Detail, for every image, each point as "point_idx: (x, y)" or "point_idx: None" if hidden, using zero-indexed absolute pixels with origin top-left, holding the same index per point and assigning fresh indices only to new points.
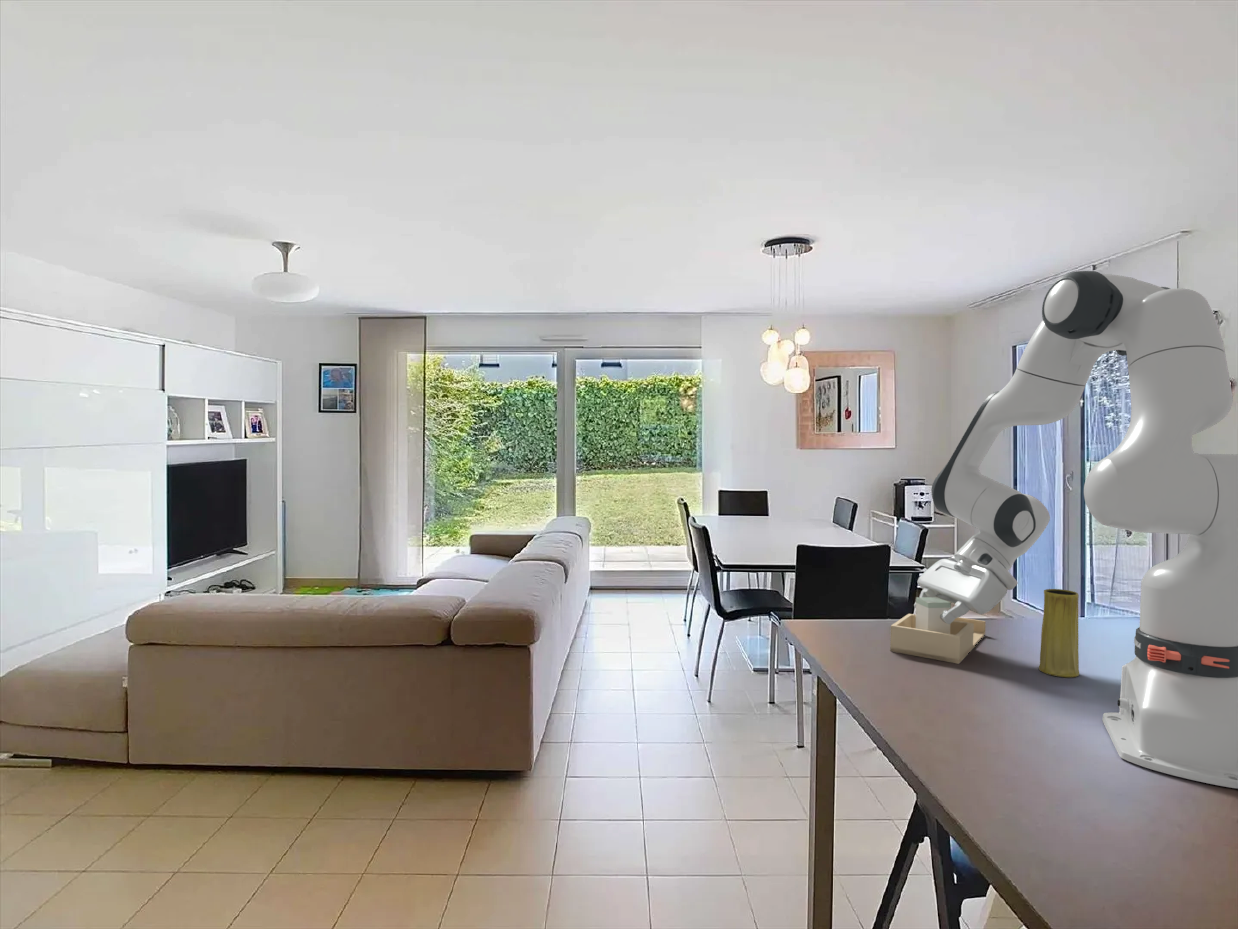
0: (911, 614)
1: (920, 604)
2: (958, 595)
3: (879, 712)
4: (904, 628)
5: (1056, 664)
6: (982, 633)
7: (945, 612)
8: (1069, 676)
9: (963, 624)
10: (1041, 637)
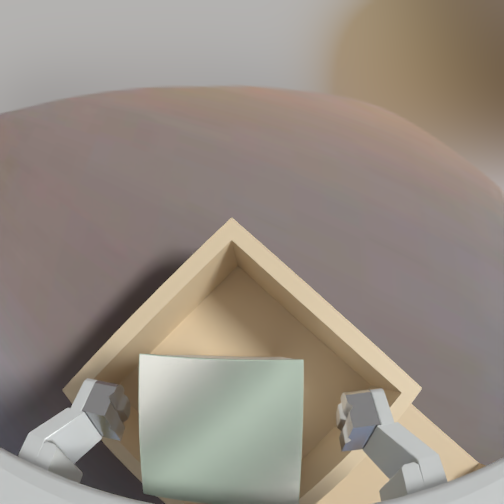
0: (409, 395)
1: (241, 359)
2: (25, 474)
3: (5, 123)
4: (193, 256)
5: None
6: None
7: (90, 402)
8: None
9: None
10: None
